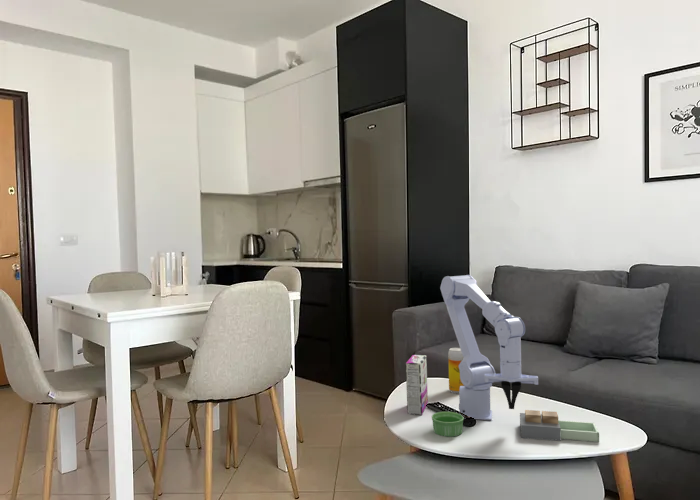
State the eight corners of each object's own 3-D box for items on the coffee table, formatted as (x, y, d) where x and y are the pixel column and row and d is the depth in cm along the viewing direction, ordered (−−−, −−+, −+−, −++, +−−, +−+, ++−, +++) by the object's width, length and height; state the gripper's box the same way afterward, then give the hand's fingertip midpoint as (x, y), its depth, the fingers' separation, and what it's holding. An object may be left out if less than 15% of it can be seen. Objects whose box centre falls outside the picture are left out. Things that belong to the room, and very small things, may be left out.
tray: (561, 439, 143) (561, 429, 143) (558, 429, 150) (557, 420, 150) (599, 442, 140) (599, 432, 140) (594, 431, 148) (594, 422, 148)
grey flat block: (521, 437, 145) (521, 425, 144) (520, 424, 154) (519, 412, 154) (560, 440, 142) (560, 427, 142) (556, 427, 152) (556, 415, 151)
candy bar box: (413, 403, 176) (412, 354, 176) (428, 404, 174) (427, 355, 174) (406, 414, 165) (405, 362, 165) (421, 415, 164) (420, 363, 163)
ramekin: (432, 425, 156) (431, 410, 155) (463, 426, 154) (463, 411, 154) (431, 437, 147) (431, 421, 147) (464, 438, 145) (464, 422, 145)
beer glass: (462, 394, 184) (461, 351, 183) (446, 392, 187) (445, 350, 187) (468, 390, 189) (468, 348, 188) (452, 387, 192) (452, 346, 192)
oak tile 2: (542, 422, 146) (542, 415, 146) (541, 417, 150) (541, 410, 150) (558, 423, 145) (558, 416, 145) (556, 418, 149) (556, 411, 148)
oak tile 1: (525, 421, 147) (525, 414, 147) (525, 416, 151) (525, 409, 151) (541, 422, 146) (540, 415, 146) (539, 417, 150) (539, 410, 150)
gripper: (483, 362, 148) (484, 410, 148) (538, 364, 144) (539, 414, 144) (484, 357, 154) (485, 403, 155) (536, 358, 150) (537, 406, 151)
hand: (511, 407), depth 150 cm, fingers closed
